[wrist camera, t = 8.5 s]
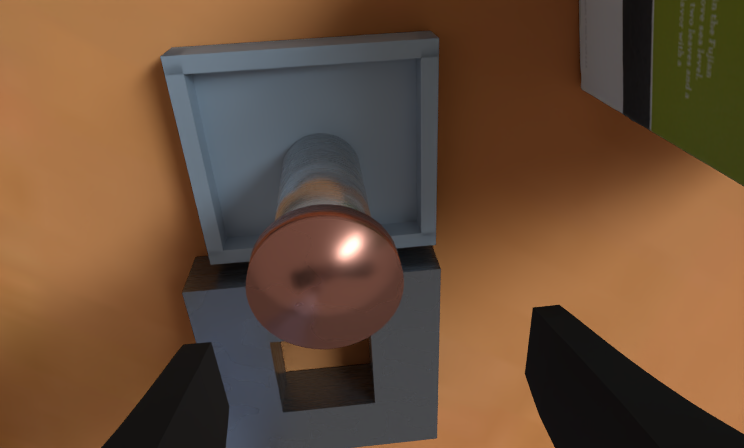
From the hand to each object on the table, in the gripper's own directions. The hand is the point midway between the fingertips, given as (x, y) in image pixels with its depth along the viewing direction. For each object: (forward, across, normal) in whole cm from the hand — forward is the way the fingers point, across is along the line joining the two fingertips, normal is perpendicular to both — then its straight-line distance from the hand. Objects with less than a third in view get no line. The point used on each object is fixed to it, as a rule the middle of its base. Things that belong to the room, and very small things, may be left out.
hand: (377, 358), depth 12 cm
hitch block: (+10, +2, +8) cm, 13 cm away
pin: (+10, +1, 0) cm, 10 cm away
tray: (+10, +1, -1) cm, 11 cm away
